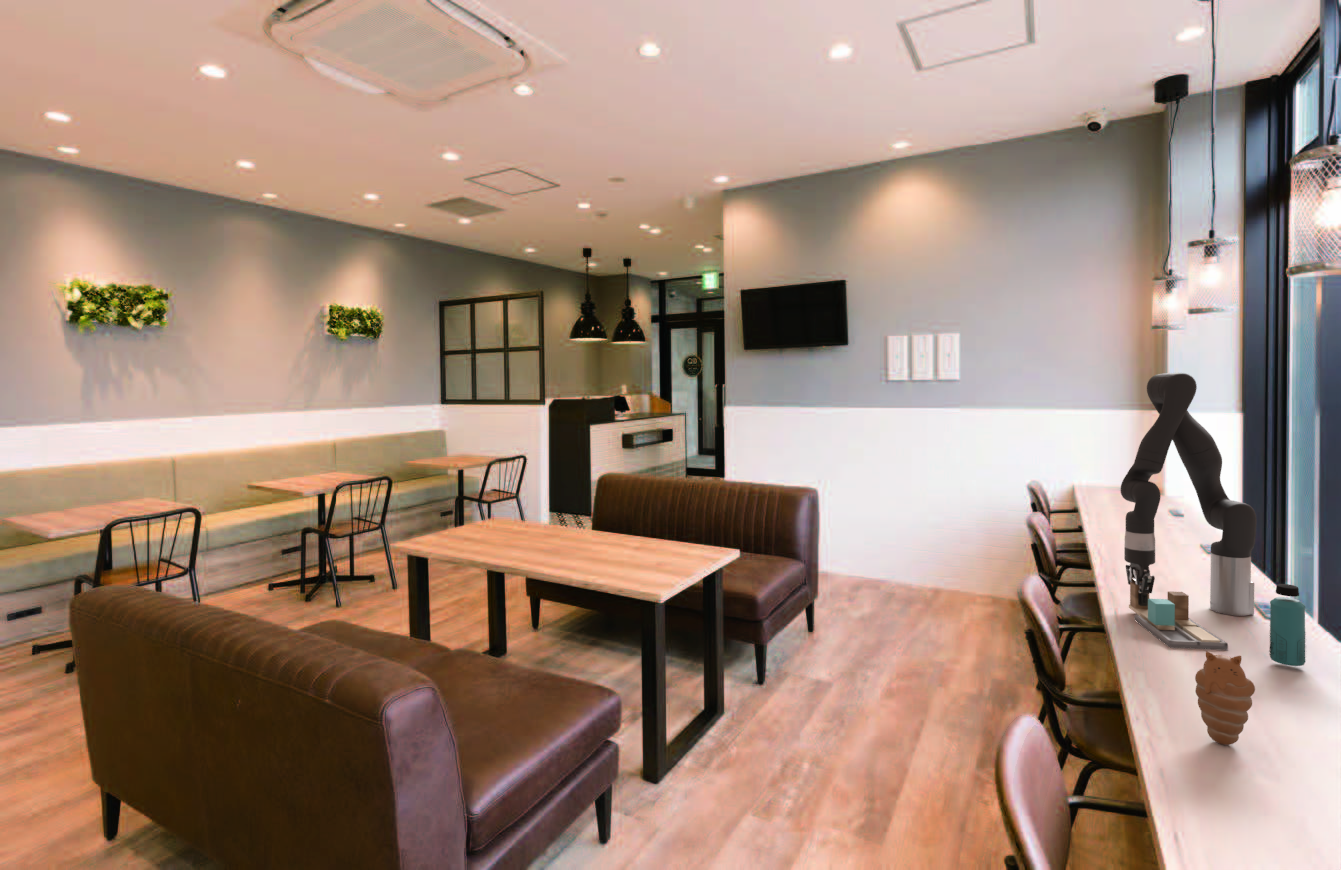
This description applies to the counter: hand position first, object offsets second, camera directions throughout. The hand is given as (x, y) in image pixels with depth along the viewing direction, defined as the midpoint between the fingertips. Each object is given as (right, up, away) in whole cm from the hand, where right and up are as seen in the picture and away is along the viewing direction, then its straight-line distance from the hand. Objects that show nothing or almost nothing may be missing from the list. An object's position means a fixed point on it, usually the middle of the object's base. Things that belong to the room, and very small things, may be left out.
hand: (1139, 603), depth 200 cm
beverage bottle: (+8, -6, -39) cm, 40 cm away
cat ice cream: (-34, -10, -71) cm, 79 cm away
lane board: (-1, -5, -16) cm, 17 cm away
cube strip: (-2, -3, -7) cm, 8 cm away
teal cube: (-3, -2, -13) cm, 14 cm away
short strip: (+4, -3, -12) cm, 12 cm away
